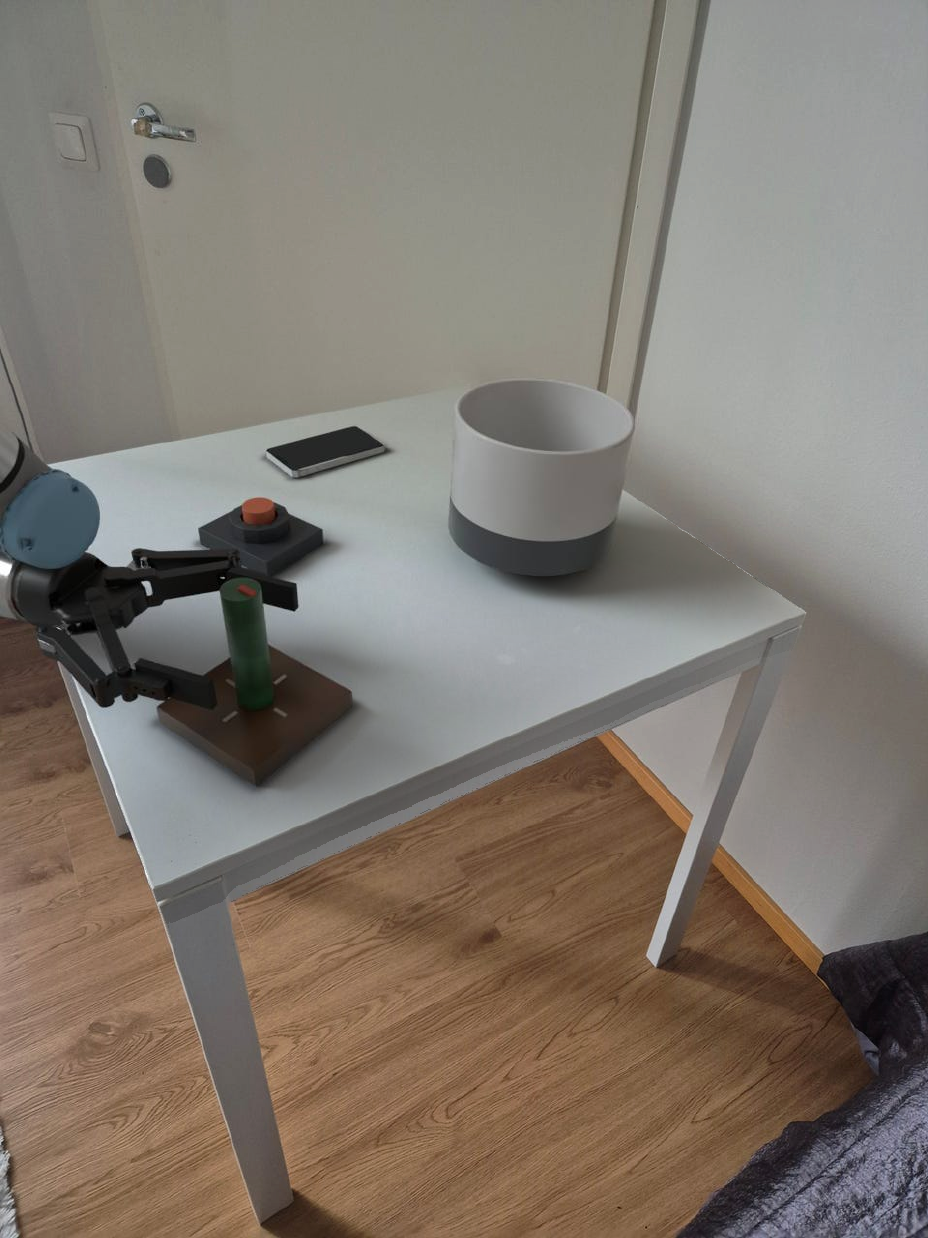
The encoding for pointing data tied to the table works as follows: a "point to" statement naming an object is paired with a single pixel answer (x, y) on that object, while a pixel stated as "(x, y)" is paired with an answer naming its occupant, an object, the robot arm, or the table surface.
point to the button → (258, 511)
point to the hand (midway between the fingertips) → (257, 642)
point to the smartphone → (324, 451)
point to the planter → (537, 474)
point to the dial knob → (247, 642)
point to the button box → (263, 539)
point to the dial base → (260, 717)
